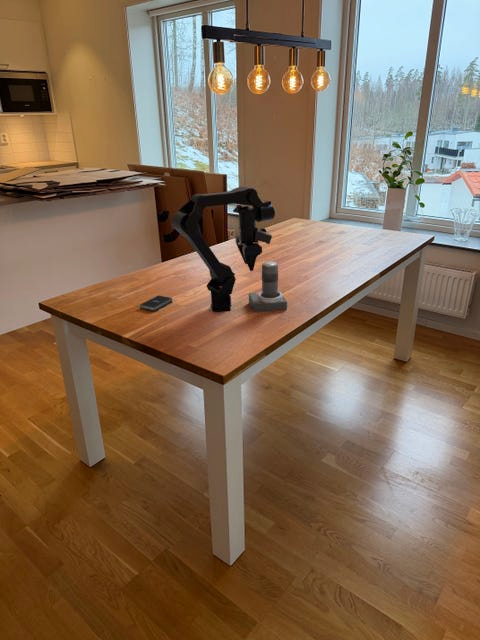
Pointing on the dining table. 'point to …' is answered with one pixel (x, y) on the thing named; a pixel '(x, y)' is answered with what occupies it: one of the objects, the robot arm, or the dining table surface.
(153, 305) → the external hard drive
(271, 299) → the camera body
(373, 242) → the dining table surface
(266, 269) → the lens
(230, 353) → the dining table surface
